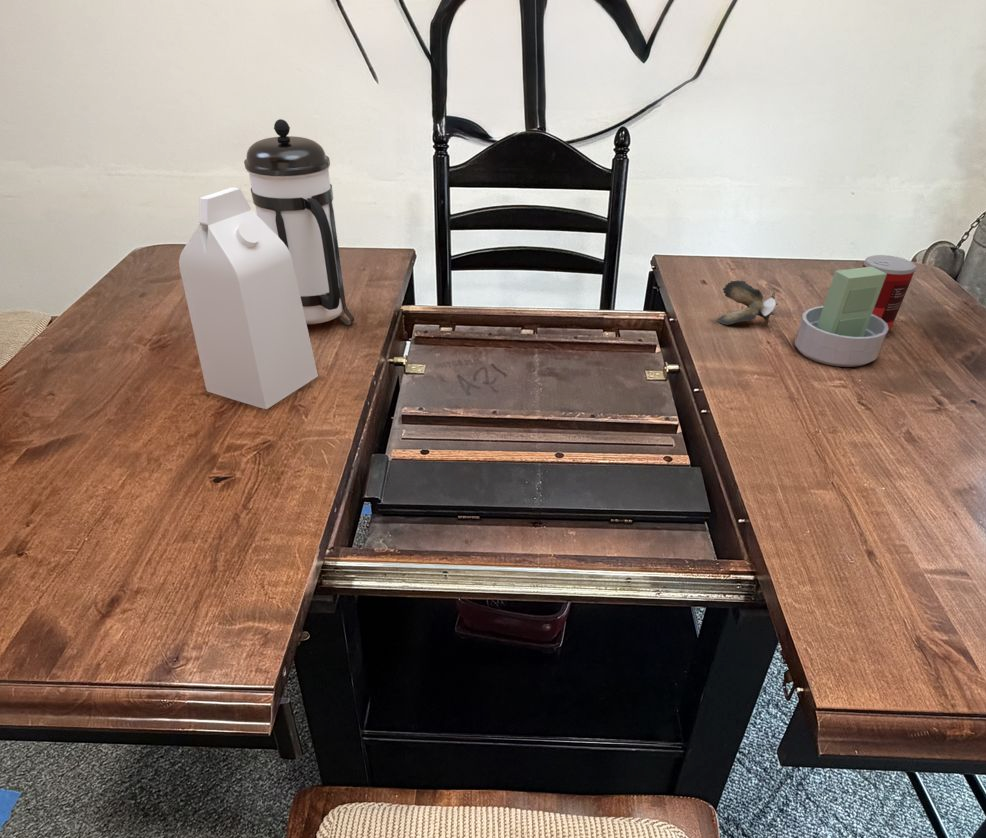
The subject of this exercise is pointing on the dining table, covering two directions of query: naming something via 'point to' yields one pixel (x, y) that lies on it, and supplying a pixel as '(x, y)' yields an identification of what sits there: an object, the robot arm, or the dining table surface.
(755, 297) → the eagle figurine
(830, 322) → the toy door
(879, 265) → the canned food
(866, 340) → the bowl
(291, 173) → the coffee press
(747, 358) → the dining table surface
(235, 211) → the milk
